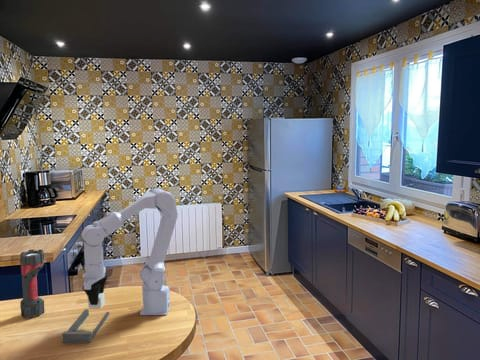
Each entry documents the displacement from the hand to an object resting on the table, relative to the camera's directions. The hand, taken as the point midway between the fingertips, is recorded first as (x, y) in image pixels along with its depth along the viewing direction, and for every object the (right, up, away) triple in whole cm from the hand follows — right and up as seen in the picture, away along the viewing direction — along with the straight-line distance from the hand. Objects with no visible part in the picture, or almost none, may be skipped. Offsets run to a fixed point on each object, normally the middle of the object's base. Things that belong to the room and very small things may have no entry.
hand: (96, 301), depth 124 cm
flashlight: (-25, -8, +9) cm, 27 cm away
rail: (-3, -9, 0) cm, 9 cm away
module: (0, -2, 0) cm, 2 cm away
